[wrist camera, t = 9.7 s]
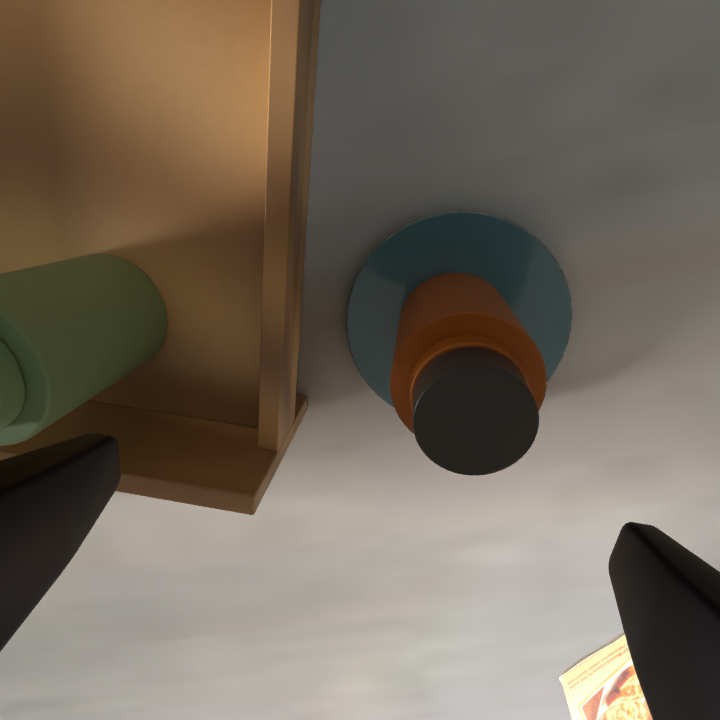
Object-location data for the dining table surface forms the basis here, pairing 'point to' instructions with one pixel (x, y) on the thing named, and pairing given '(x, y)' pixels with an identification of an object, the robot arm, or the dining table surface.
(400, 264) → the coaster
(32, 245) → the spice rack
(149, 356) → the green bottle
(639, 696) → the coffeecake box
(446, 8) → the dining table surface
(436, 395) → the amber bottle
